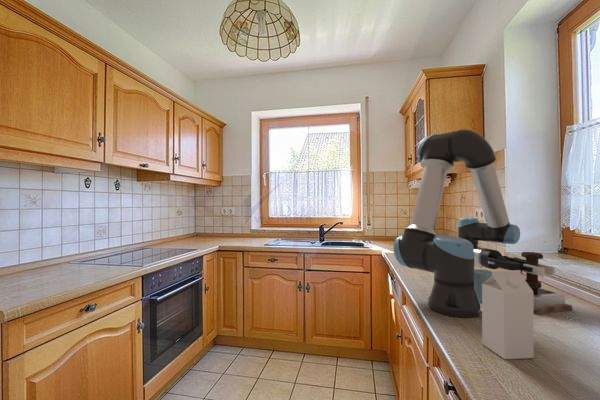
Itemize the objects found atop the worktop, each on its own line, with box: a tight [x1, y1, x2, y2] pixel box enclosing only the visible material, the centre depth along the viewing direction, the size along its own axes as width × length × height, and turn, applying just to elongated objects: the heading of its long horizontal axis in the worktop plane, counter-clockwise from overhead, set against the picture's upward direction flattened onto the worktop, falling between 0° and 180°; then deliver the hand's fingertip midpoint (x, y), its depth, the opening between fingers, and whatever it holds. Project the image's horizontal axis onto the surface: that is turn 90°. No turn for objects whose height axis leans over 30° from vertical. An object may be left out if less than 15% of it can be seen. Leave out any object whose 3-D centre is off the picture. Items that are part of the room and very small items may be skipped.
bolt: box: [521, 251, 544, 295], centre depth 100 cm, size 6×5×15 cm
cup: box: [474, 268, 493, 304], centre depth 104 cm, size 8×8×10 cm
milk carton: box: [481, 270, 535, 360], centre depth 69 cm, size 7×7×19 cm
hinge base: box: [533, 287, 573, 315], centre depth 100 cm, size 15×14×5 cm
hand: (548, 271), depth 95 cm, fingers open, 3 cm apart
